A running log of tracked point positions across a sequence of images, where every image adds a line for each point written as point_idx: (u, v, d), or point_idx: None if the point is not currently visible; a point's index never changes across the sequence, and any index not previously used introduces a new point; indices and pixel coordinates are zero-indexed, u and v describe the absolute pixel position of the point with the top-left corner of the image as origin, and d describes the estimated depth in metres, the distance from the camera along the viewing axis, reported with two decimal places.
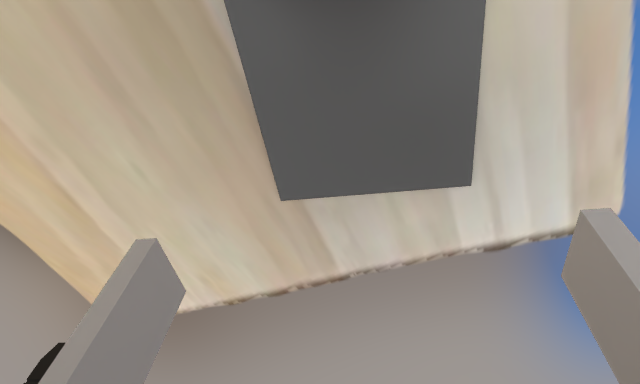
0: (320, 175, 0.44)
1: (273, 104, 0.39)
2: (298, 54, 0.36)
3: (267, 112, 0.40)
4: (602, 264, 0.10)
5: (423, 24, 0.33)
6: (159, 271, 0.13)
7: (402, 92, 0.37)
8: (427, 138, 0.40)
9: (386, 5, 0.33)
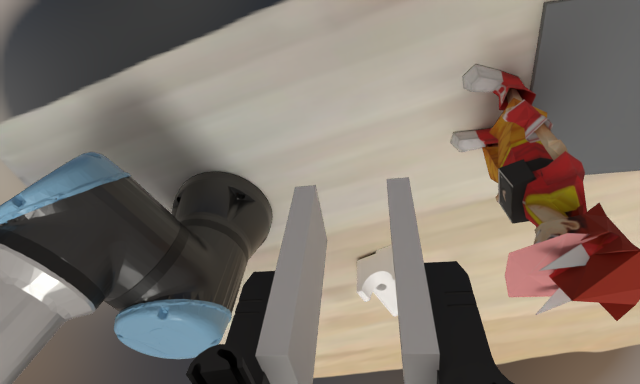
0: None
1: (618, 159, 0.49)
2: (585, 138, 0.47)
3: (623, 164, 0.49)
4: None
5: (600, 45, 0.41)
6: (318, 216, 0.14)
7: None
8: None
9: (574, 76, 0.43)
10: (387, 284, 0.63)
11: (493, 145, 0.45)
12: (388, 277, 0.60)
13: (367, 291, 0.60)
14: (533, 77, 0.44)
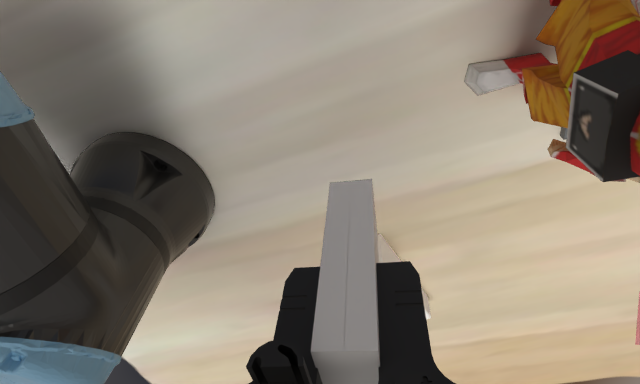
0: None
1: None
2: None
3: None
4: None
5: None
6: None
7: None
8: None
9: None
10: None
11: None
12: None
13: None
14: None
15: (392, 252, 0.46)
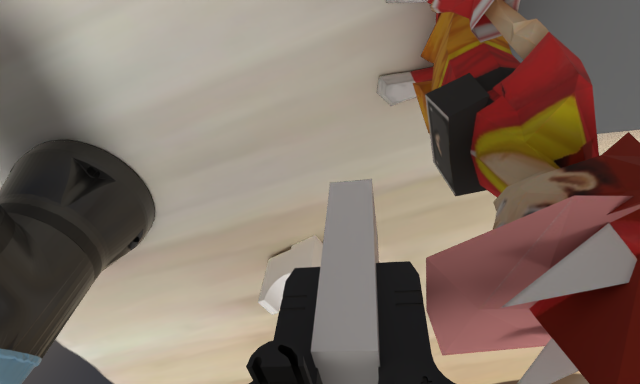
0: None
1: (617, 111, 0.34)
2: None
3: (624, 119, 0.34)
4: None
5: None
6: None
7: None
8: None
9: None
10: None
11: None
12: None
13: (275, 300, 0.44)
14: None
15: None
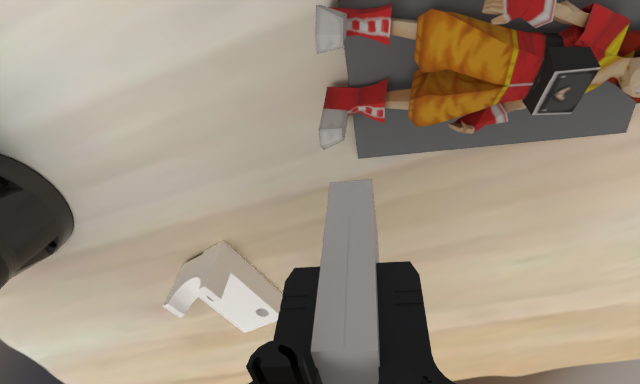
0: None
1: (483, 127, 0.35)
2: None
3: (491, 134, 0.35)
4: None
5: None
6: None
7: None
8: None
9: (393, 0, 0.30)
10: None
11: None
12: None
13: (181, 303, 0.46)
14: (339, 3, 0.30)
15: (237, 257, 0.49)
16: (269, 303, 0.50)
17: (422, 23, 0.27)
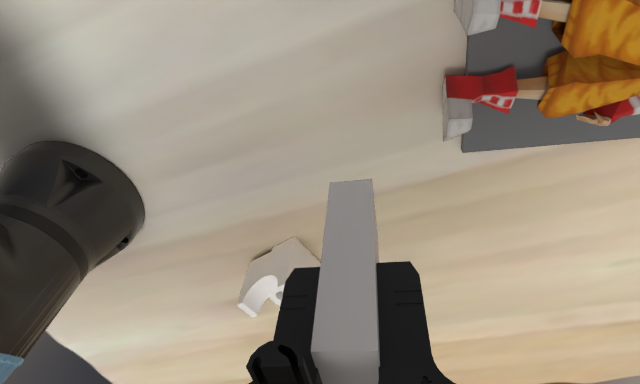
0: None
1: None
2: None
3: (614, 127, 0.33)
4: None
5: None
6: None
7: None
8: None
9: None
10: None
11: None
12: None
13: (254, 303, 0.44)
14: None
15: (308, 254, 0.47)
16: None
17: (578, 3, 0.25)
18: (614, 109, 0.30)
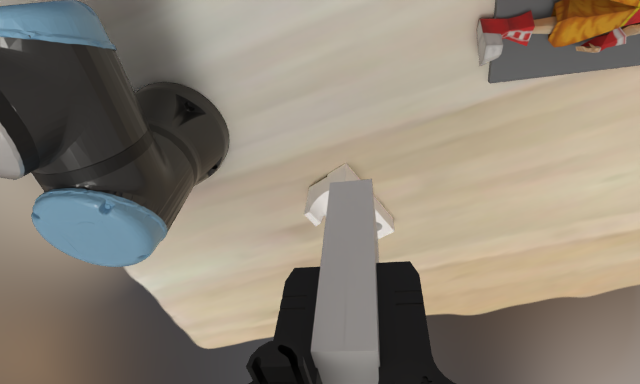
0: None
1: (598, 53, 0.44)
2: None
3: (603, 59, 0.45)
4: None
5: None
6: None
7: None
8: None
9: None
10: None
11: None
12: None
13: (317, 214, 0.55)
14: None
15: (357, 178, 0.58)
16: (383, 217, 0.59)
17: None
18: (603, 40, 0.41)
